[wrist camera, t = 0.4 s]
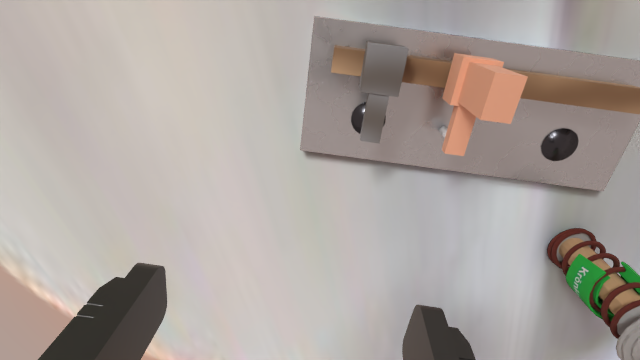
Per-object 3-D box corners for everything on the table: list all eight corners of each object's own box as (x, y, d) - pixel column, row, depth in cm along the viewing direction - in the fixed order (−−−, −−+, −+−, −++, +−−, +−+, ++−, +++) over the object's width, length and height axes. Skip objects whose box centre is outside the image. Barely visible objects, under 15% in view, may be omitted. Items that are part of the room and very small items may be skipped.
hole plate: (315, 16, 31) (314, 16, 30) (657, 63, 31) (670, 65, 30) (301, 145, 36) (299, 150, 35) (595, 185, 36) (603, 191, 35)
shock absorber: (547, 214, 38) (661, 327, 24) (608, 220, 38) (756, 337, 24) (527, 262, 41) (620, 388, 27) (584, 268, 41) (705, 397, 27)
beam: (336, 35, 31) (335, 38, 27) (638, 76, 31) (682, 86, 27) (324, 121, 34) (322, 136, 30) (597, 158, 34) (631, 178, 30)
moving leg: (447, 50, 30) (489, 66, 22) (483, 55, 30) (537, 72, 22) (425, 136, 33) (453, 178, 25) (457, 140, 33) (496, 184, 25)
